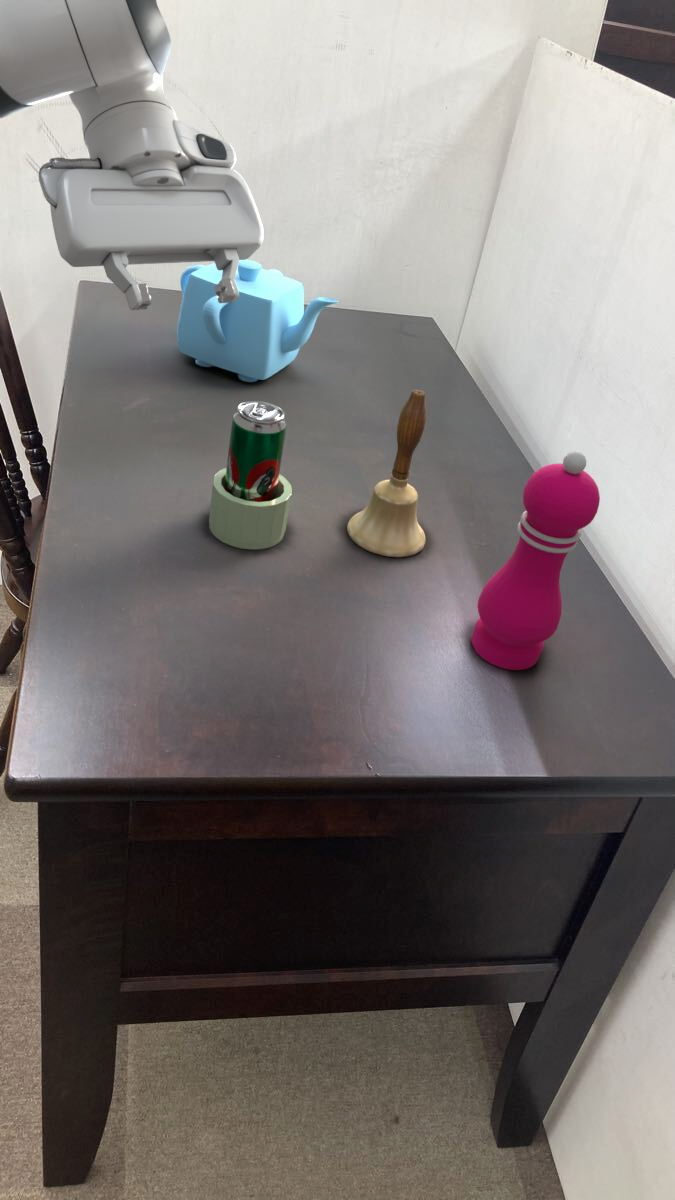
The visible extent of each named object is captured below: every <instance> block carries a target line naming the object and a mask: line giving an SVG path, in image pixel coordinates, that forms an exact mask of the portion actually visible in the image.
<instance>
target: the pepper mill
mask: <svg viewBox="0 0 675 1200" xmlns="http://www.w3.org/2000/svg"><path fill="white" fill-rule="evenodd" d="M586 466H587V459H586V456H585V455H584V453H582V452H580V451H577V450H575V451H570V452H567V454H566V455H565V456H564V457H563V459H562V463H551V464H547V465H544V466H541V467H540V468H538V469H537V470H535V471H534V472H533V473H532V475H531V476H530V477H529V478H528V479H527V481H526V484H525V486H524V489H523V491H522V503H523V506H524V509H525V510H524V511H523V513H521V516H520V521H519V522H518V524H517V533H518V534H519V539H518V543H517V544H516V547H515V550H514V551H513V553H512V554H511V556H510V558H509V559H508V560H507V561H506V562H505V563H504V564H503V565H502V566H501V567H500V568H499V569H498V570H497V571H496V572H495V573H494V574H493V575H492V576H491V577H490V578H489V579H488V581H487V583H486V584H485V585H484V587H483V588H482V590H481V593H480V595H479V597H478V600H477V613H478V616H479V618H478V619H477V621H476V623H475V626H474V629H473V631H472V634H471V643H472V647H473V649H474V651H475V652H476V654H478V655H479V656H480V657H481V659H483V660H484V661H486V662H487V663H489V664H491V665H493V666H495V667H498V668H500V669H505V670H510V671H522V670H527V669H530V668H532V667H533V666H534V665H535V664H536V663H537V662H538V660H539V658H540V655H541V653H542V651H543V649H544V645H545V642H546V641H547V640H548V639H550V638H551V637H552V636H553V635H554V634H555V633H556V631H557V630H558V627H559V625H560V620H561V617H562V608H563V607H562V603H563V601H562V592H561V588H560V579H561V571H562V568H563V564H564V561H565V559H566V557H567V555H568V553H569V552H572V551H573V550H575V549H576V548H577V546H578V540H579V539H580V538H581V535H582V529H583V528H586V527H587V526H589V525H590V524H591V523H592V521H594V519H595V517H596V515H597V514H598V510H599V506H600V501H601V496H600V490H599V487H598V485H597V482H596V481H595V480H594V479H593V477H592V476H591V475H590V474H589V473H587V472H586V471H585V469H586Z"/></svg>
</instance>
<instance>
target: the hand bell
mask: <svg viewBox="0 0 675 1200" xmlns="http://www.w3.org/2000/svg"><path fill="white" fill-rule="evenodd" d="M426 405H427V404H426V392H425V391H424V390H421V389H412V391H411V393H410V395H409V397H408V399H406V402H405V403H404V405H403V407H402V409H401V411H400V413H399V417H398V421H397V427H396V443H397V449H396V450H397V451H396V456H395V459H394V462H393V468H392V469H391V476H390V479H384V480H381V481H379V482H378V483H376V485H375V486H374V488H373V491H372V493H371V497H370V498H369V500H368V503H367V504H366V506H365V507H364V508H363V510H361V511H359V512H357V513H355V514H354V515H353V516H352V517H351V518H350V519H349V520H348V522H347V524H346V531H347V534H348V536H349V537H350V539H351V540H352V541H353V543H355V544H356V545H358V547H360V548H361V549H363V550H366V551H367V552H371V553H372V554H374V555H375V554H376V555H379V556H383V557H389V558H404V557H410V556H414V555H416V554H418V553H419V552H422V550H423V549H424V548H425V546H426V543H427V542H426V534H425V531H424V530H423V528H422V527H421V524H419V522H418V516H417V508H418V499H419V495H418V491H417V490H416V488H414V487H413V486H412V485H411V484H409V482H408V481H409V476H410V469H411V463H412V460H413V459H412V458H413V454H414V452H415V450H416V448H417V446H418V445H419V443H420V442H421V439H422V437H423V434H424V431H425V426H426V422H427V406H426Z"/></svg>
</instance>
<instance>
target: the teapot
mask: <svg viewBox="0 0 675 1200" xmlns="http://www.w3.org/2000/svg"><path fill="white" fill-rule="evenodd" d="M262 267H263V266H262V264H260V262H259V263H258V262H257V261H254V260H250V259H246V260H239V264H238V269H237V274H236V278H235V281H236V284H237V287H238V291H239V298H238V299H237V300H236V301H235V302H233V303H219V302H218V299H217V297H218V296H217V295H216V293H215V290H214V287H215V286H216V285H217V284H219V282H220V281H221V279H222V272H223V270H217V267H216V265H215V262H212V263H209V264H208V265H204V264H203V265H202V264H193V265H190V266H188V267H187V268H186V269H185V270H183V272H182V274H181V276H180V280H179V281H180V289H181V294H182V299H181V303H180V307H179V308H180V309H179V316H178V322H177V329H176V330H177V331H176V339H177V346H178V350H179V352H180V353H182V354H184V355H186V356H189V357H191V358H193V359H195V364H196V365H198V366H200V367H204V368H212V367H217V368H220V369H223V370H225V371H229V372H232V373H235V374H237V378H238V379H239V380H240V381H243V382H246V383H255V382H257V381H258V380H263V381H264V380H268V379H269V378H270V377H272V376H273V375H275V374H277V373H278V372H279V371H281V370H283V369H284V368H285V367H286V366H288V365H289V364H291V363H292V362H293V361H294V360H295V359H296V358H297V356H298V354H299V351H300V348H301V347H303V346H304V345H305V344H306V343H307V342H308V340H309V338H310V337H311V335H312V332H313V330H314V328H315V324H316V322H317V319H318V317H319V315H320V313H321V312H322V311H323V309H325V308H326V307H328V306H330V305H333V304H337V303H339V300H338V299H334V298H330V297H324V296H323V297H322V296H321V297H316V298H314V299H312V300H311V301H310V302H309V303H308V304H307V306H306V307H305V294H304V293H305V291H304V284H303V283H302V282H300V281H299V280H296V279H293V278H290V277H287V276H285V275H283V273H282V271H280V270H278V269H269V270H267V269H264V268H262Z"/></svg>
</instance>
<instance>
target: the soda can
mask: <svg viewBox="0 0 675 1200" xmlns="http://www.w3.org/2000/svg"><path fill="white" fill-rule="evenodd" d="M287 425H288V424H287V422H286V420H285V412H284V411H283V410H282V408H281V407H279V406H277V405H275V404H273V403H270V402H266V401H261V400H249V401H244V402H241V403H240V404H239V405H238V406H237V409H236V412H235V413H234V414H233V415H232V418H231V426H230V434H229V443H228V452H227V459H226V467H225V468H226V477H225V485H224V489H225V491H227V492H228V493H230V494H231V495H233V496H234V497H237V498H240V499H243V500H246V501H254V502H264V501H271V500H274V499H275V498H276V491H277V485H278V479H279V474H280V472H281V466H282V459H283V453H284V447H285V440H286V434H287V427H288V426H287Z"/></svg>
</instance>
